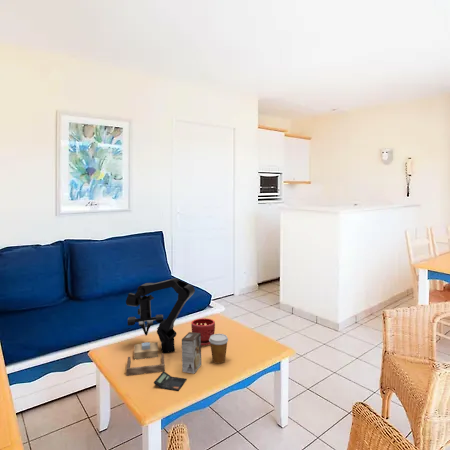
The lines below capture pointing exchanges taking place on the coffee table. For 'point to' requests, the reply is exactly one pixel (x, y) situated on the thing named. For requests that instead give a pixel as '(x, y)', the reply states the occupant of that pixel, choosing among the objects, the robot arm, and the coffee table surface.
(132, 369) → the dock bay
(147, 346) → the light blue square block
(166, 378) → the calculator
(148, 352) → the beige rectangular block
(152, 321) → the robot arm
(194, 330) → the plant pot
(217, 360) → the disposable coffee cup
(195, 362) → the coffee box
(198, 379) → the coffee table surface
